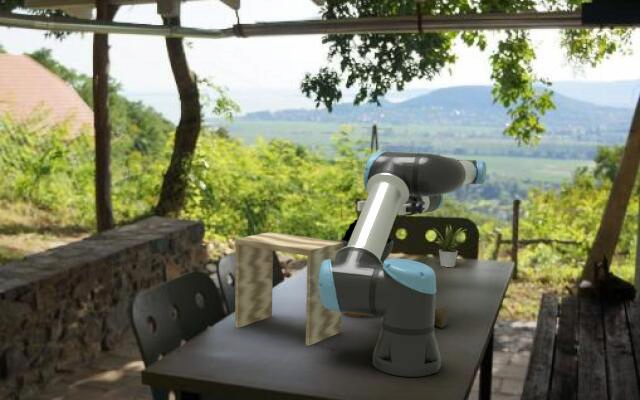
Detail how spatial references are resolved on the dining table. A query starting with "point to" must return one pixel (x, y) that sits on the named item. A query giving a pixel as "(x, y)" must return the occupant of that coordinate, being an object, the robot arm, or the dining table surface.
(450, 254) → the house plant
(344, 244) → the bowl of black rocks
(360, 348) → the dining table surface
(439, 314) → the kendama
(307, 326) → the plywood stool
